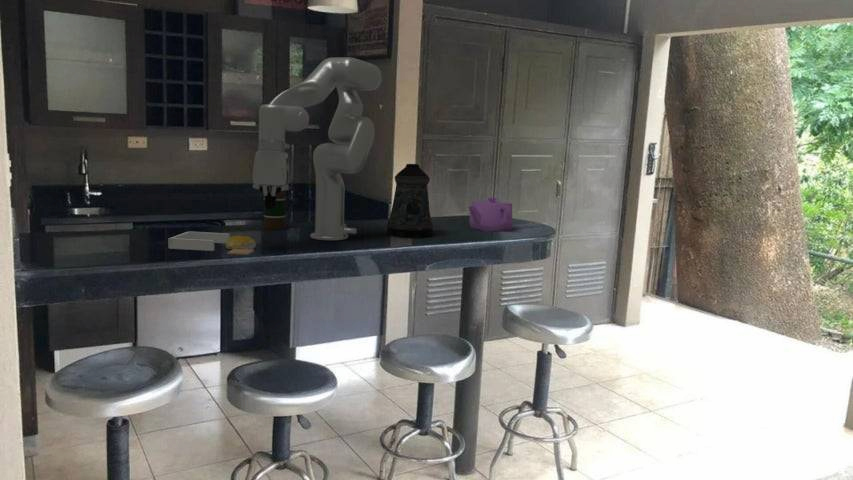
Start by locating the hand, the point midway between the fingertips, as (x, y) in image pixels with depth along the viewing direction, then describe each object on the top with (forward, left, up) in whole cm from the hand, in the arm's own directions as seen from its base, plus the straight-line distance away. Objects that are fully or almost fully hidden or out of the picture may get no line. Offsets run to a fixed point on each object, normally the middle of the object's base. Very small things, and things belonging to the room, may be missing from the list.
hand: (270, 208), depth 209 cm
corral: (+22, -1, -12) cm, 25 cm away
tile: (+7, +7, -12) cm, 16 cm away
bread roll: (+9, -1, -13) cm, 16 cm away
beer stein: (-37, -44, -13) cm, 59 cm away
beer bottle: (+11, -41, -13) cm, 44 cm away
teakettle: (-66, -68, -13) cm, 96 cm away
